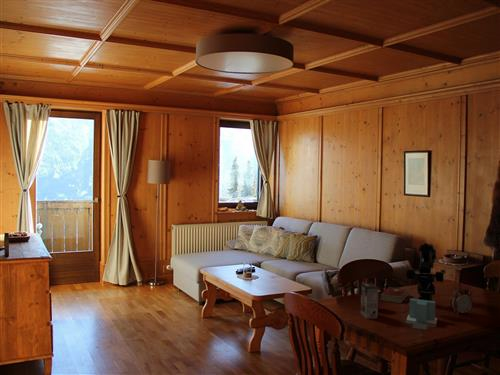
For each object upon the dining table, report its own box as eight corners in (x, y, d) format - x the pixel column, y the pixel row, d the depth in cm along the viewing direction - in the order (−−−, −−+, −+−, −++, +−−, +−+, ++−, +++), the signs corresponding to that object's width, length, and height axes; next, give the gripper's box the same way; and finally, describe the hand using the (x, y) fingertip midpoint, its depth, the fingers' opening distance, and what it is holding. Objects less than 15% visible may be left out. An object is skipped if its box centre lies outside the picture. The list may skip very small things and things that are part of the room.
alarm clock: (455, 315, 245) (456, 287, 245) (449, 312, 250) (450, 284, 249) (473, 314, 248) (473, 286, 248) (466, 311, 253) (467, 283, 252)
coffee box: (359, 313, 246) (360, 282, 246) (371, 313, 247) (372, 282, 246) (365, 318, 237) (366, 287, 237) (378, 318, 238) (378, 287, 237)
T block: (409, 315, 242) (410, 298, 242) (434, 319, 237) (435, 301, 237) (408, 320, 234) (408, 302, 234) (434, 324, 229) (434, 306, 229)
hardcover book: (380, 301, 272) (380, 293, 272) (388, 293, 290) (388, 286, 290) (401, 304, 266) (401, 296, 266) (408, 296, 284) (408, 289, 284)
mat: (408, 315, 244) (408, 314, 244) (437, 318, 239) (437, 318, 239) (404, 326, 225) (404, 326, 225) (435, 331, 220) (435, 330, 220)
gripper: (406, 254, 254) (404, 278, 244) (444, 257, 246) (442, 282, 236) (407, 265, 261) (405, 289, 251) (444, 269, 253) (442, 294, 244)
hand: (423, 288), depth 245 cm, fingers open, 3 cm apart
